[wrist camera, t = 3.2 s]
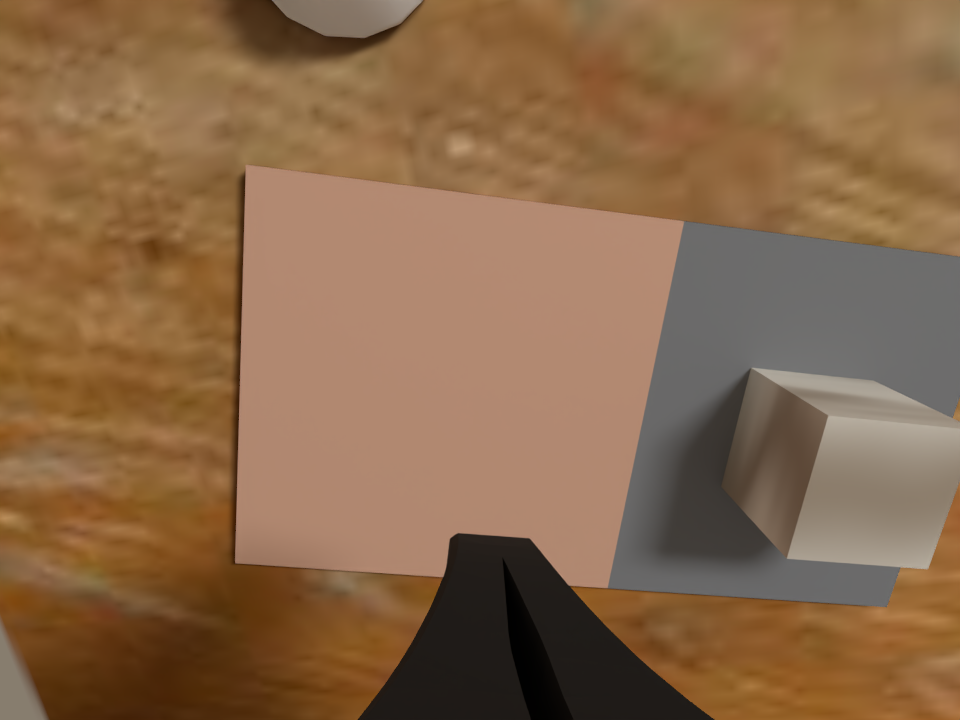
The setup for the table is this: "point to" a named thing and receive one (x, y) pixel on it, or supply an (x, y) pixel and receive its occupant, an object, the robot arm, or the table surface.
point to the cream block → (843, 469)
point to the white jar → (348, 15)
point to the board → (547, 380)
